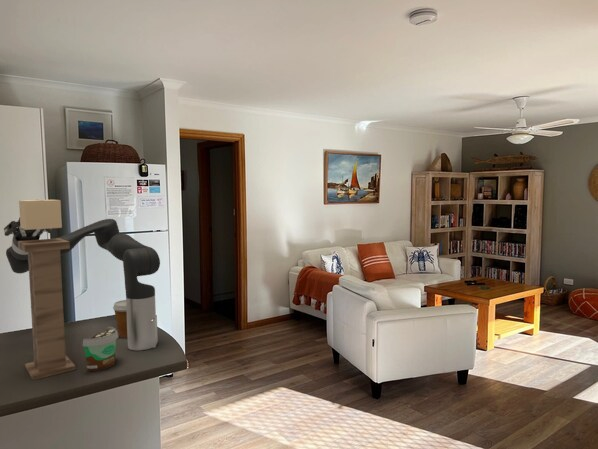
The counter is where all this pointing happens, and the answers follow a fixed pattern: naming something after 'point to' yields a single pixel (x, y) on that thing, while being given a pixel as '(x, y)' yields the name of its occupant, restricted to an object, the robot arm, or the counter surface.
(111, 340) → the food container
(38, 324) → the walnut stand
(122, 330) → the disposable coffee cup
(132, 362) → the counter surface
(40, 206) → the wooden mallet
